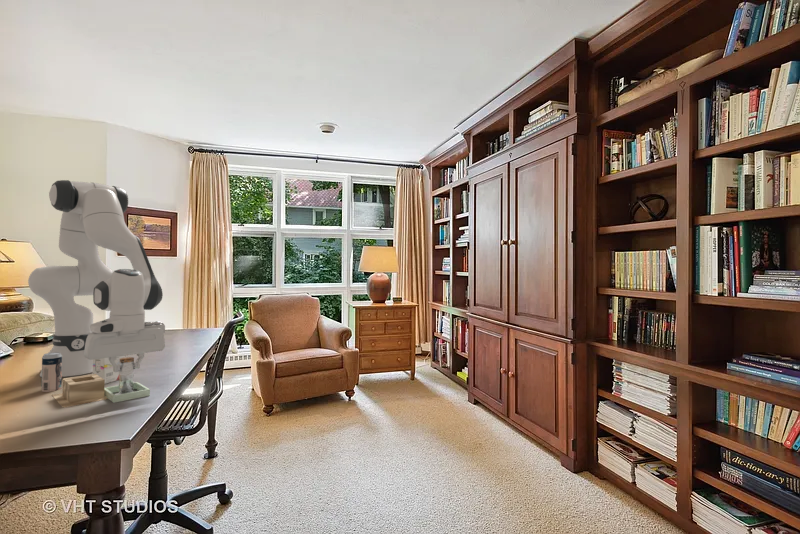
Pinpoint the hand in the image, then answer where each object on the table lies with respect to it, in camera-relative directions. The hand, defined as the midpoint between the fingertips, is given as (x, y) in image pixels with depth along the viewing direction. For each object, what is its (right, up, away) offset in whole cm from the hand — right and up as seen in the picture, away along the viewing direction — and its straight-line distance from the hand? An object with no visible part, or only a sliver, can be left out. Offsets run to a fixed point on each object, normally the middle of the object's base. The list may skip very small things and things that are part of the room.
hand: (126, 369), depth 124 cm
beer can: (-26, -8, +4) cm, 27 cm away
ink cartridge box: (-16, -8, +15) cm, 24 cm away
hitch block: (-11, -8, -2) cm, 14 cm away
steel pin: (0, -7, 0) cm, 7 cm away
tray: (0, -8, 0) cm, 8 cm away
